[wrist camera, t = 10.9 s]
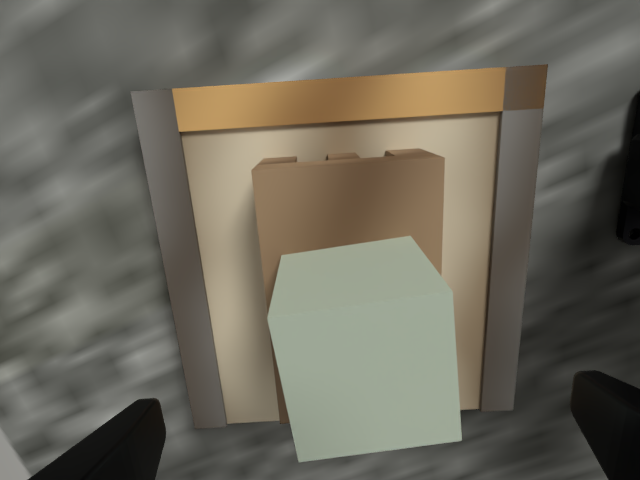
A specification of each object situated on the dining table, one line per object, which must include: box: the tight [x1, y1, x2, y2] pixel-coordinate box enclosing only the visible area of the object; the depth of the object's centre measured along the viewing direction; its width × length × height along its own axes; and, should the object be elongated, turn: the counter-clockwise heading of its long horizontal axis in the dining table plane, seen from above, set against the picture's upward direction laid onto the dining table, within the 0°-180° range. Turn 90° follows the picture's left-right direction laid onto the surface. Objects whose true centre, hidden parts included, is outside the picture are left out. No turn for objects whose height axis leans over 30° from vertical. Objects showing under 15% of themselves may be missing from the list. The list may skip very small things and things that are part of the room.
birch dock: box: [131, 64, 548, 429], centre depth 17 cm, size 14×14×2 cm
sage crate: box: [267, 236, 462, 462], centre depth 11 cm, size 4×4×4 cm
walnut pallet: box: [251, 148, 445, 424], centre depth 15 cm, size 6×9×3 cm, turn 4°
